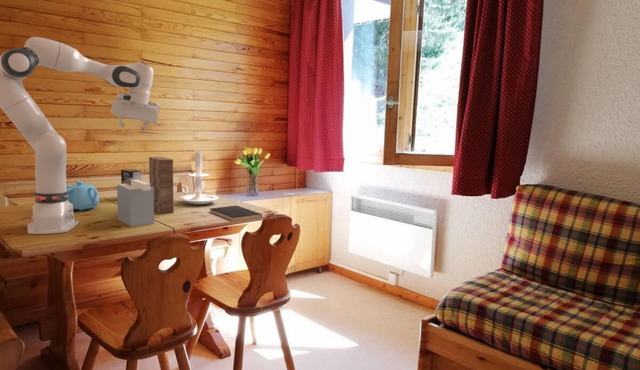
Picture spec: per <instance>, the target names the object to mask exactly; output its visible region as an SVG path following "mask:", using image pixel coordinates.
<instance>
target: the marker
mask: <svg viewBox="0 0 640 370" xmlns="http://www.w3.org/2000/svg"><path fill="white" fill-rule="evenodd" d="M127 184H128V185H131V186H133V187H136V188H138V189H141V190H144V191H147V190H150V182H145V181H142V180H141V181H140V180H137V179H134V178H127Z"/></svg>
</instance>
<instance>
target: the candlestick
mask: <svg viewBox="0 0 640 370" xmlns="http://www.w3.org/2000/svg"><path fill="white" fill-rule="evenodd" d="M194 168H195V173H188V174H187V176H190V177H192V178H195V181H194V182H193V189H194V190H195V191H196V193H195V194H188V192H189V187H188V186H187V185H184V184H181V186H182V188H181V191H182V193H183V195H181V196H179V198H178V199H179V200H181V201H183V202H184V203H186V204H190V205H209V204H210V203H213V202H215V201H216V200H218V199H219V198H220V197H219V196H218V195H214V194H213V195H212V194H204V193H203V194H202V191H203V190H204V189H205V183H204V181H203V178H205V177H208V176H210V174H209V173H203V152H202V153H201V152H199V151H198V152H195V153H194ZM184 188H185V189H186V191H185V189H184Z"/></svg>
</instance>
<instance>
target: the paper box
mask: <svg viewBox="0 0 640 370" xmlns="http://www.w3.org/2000/svg"><path fill="white" fill-rule="evenodd" d="M116 188H117V191H116V192H117V193H116V194H117V195H116V196H117V219H118V221H120V222H121V223H124V224H126V225H127V226H129V227H138V226H145V225H147V226H148V225H153V224H155V211H154V193H153V188H152V187H150V190H147V191H144V190H141V189H138V188H136V187H133V186H131V185H128V184H121V183H118V184H117V185H116Z"/></svg>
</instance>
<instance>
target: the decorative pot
mask: <svg viewBox="0 0 640 370" xmlns="http://www.w3.org/2000/svg"><path fill="white" fill-rule="evenodd" d="M66 186H67V191H68V201H69V202H70V203H71V204H72V205H73V210H78V212H85V211H86V210H91V209H92V210H93V209H95V207H97V206H98V205H99V203H100V198H99V194H98V193H99V192H98V189H97V188H96V187H95V186H94V185H93V184H91V183H90V184H84V181H81V180H78V181H76V182H75V183H74V184H66Z"/></svg>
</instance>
